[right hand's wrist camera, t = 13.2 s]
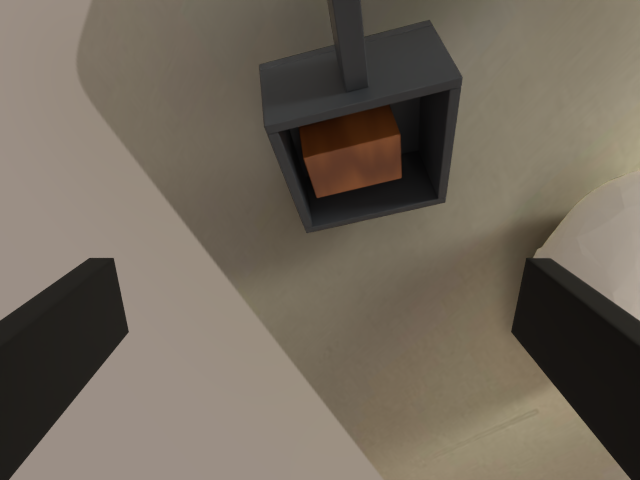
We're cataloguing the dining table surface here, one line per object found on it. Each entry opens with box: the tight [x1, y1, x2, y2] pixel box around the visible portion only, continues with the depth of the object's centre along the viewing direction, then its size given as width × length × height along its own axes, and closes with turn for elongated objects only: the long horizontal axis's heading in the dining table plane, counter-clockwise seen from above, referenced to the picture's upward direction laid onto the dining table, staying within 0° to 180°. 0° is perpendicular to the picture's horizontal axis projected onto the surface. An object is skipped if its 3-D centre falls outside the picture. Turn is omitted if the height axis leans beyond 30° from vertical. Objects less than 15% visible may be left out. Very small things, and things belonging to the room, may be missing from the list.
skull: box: [533, 170, 640, 321], centre depth 28 cm, size 13×22×16 cm, turn 10°
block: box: [298, 105, 402, 198], centre depth 26 cm, size 4×4×6 cm
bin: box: [259, 0, 463, 233], centre depth 20 cm, size 22×10×6 cm
